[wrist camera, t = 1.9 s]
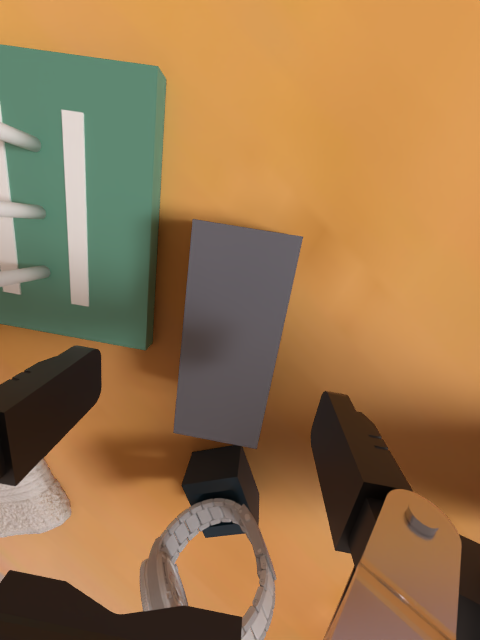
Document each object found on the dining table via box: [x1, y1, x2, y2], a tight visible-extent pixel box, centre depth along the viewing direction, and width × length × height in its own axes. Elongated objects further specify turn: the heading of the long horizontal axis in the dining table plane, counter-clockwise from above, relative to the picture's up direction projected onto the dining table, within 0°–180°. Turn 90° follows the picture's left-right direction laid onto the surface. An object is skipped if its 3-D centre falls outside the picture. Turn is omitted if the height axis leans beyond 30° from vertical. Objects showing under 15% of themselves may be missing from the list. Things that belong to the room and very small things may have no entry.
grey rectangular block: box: [173, 219, 303, 449], centre depth 16 cm, size 12×5×5 cm, turn 171°
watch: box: [140, 445, 276, 640], centre depth 18 cm, size 6×8×11 cm
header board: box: [0, 45, 166, 350], centre depth 15 cm, size 14×16×5 cm
